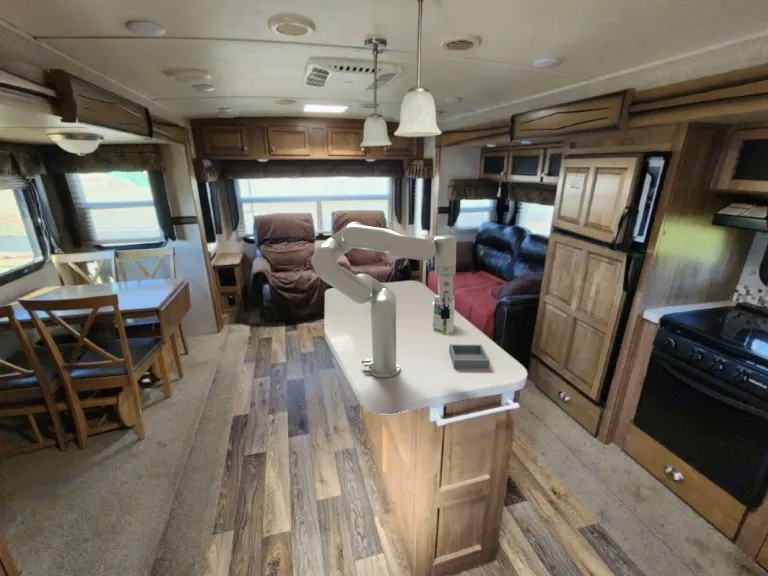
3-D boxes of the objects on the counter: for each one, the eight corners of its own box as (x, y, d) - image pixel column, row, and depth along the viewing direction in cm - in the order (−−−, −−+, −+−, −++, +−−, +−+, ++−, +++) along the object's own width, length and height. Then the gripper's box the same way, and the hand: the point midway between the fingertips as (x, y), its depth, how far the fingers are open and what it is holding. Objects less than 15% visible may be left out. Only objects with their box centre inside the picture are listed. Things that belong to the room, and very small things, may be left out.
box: (453, 368, 141) (454, 360, 140) (449, 351, 155) (449, 344, 154) (488, 368, 141) (489, 360, 140) (481, 352, 154) (481, 344, 153)
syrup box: (432, 331, 135) (433, 295, 131) (442, 326, 139) (443, 292, 134) (444, 335, 131) (445, 299, 127) (454, 331, 135) (455, 295, 130)
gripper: (458, 275, 119) (457, 323, 124) (452, 264, 136) (451, 306, 141) (436, 276, 120) (435, 323, 125) (433, 264, 136) (432, 306, 141)
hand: (444, 314), depth 133 cm, fingers closed on syrup box, 8 cm apart
